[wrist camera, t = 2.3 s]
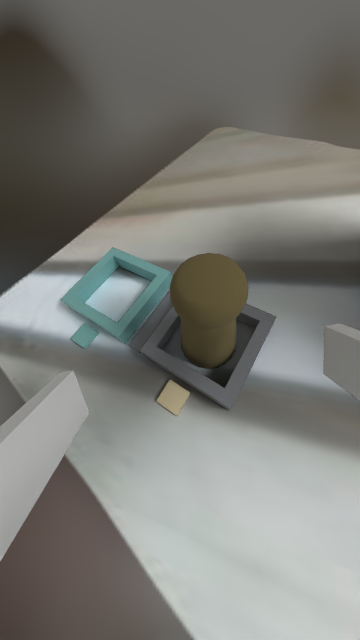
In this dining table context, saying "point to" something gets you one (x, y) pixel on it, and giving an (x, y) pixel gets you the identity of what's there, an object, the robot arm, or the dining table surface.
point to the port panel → (161, 329)
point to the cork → (208, 307)
